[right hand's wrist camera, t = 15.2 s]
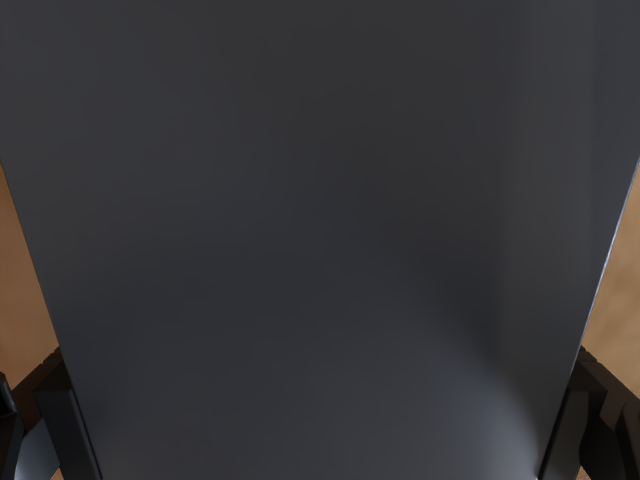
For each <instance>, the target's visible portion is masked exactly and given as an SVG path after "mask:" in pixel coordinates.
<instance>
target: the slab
mask: <svg viewBox="0 0 640 480" xmlns="http://www.w3.org/2000/svg"><path fill="white" fill-rule="evenodd" d="M0 162H1V165H2V168H3V171H4V174H5V177H6V181H7V184H8V187H9V190H10V193H11V196H12V199H13V202H14V206H15V209H16V212H17V215H18V218H19V221H20V224H21V228H22V231H23V234H24V237H25V240H26V243H27V246H28V249H29V253H30V256H31V259H32V262H33V265H34V268H35V271H36V274H37V278H38V281H39V284H40V287H41V290H42V293H43V296H44V299H45V303H46V306H47V309H48V312H49V315H50V318H51V321H52V325H53V328H54V331H55V334H56V337H57V340H58V343H59V346H60V350H61V353H62V356H63V359H64V362H65V365H66V368H67V371H68V375H69V378H70V381H71V384H72V387H73V390H74V393H75V396H76V400H77V403H78V406H79V409H80V412H81V415H82V418H83V422H84V425H85V428H86V431H87V434H88V437H89V440H90V443H91V447H92V450H93V453H94V456H95V459H96V462H97V465H98V468H99V472H100V475H101V478H102V480H537V479H538V476H539V473H540V470H541V467H542V464H543V460H544V457H545V454H546V451H547V448H548V445H549V442H550V439H551V436H552V433H553V429H554V426H555V423H556V420H557V417H558V414H559V411H560V408H561V405H562V402H563V398H564V395H565V392H566V389H567V386H568V383H569V380H570V377H571V374H572V370H573V367H574V364H575V361H576V358H577V355H578V352H579V349H580V346H581V343H582V339H583V336H584V333H585V330H586V327H587V324H588V321H589V318H590V315H591V311H592V308H593V305H594V302H595V299H596V296H597V293H598V290H599V287H600V284H601V280H602V277H603V274H604V271H605V268H606V265H607V262H608V259H609V256H610V253H611V249H612V246H613V243H614V240H615V237H616V234H617V231H618V228H619V225H620V221H621V218H622V215H623V212H624V209H625V206H626V203H627V200H628V197H629V194H630V190H631V187H632V184H633V181H634V178H635V175H636V172H637V169H638V166H639V162H640V0H0Z"/></svg>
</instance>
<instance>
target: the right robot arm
mask: <svg viewBox="0 0 640 480" xmlns="http://www.w3.org/2000/svg"><path fill="white" fill-rule="evenodd" d="M580 466H582V467H583V469H584V470H585V471H586V473H587V474H588V476H589V477H590V478H591V480H640V400H639V399H638V398H637V397H636V396H635V395H634V394H633V393H632V392H631V391H630V390H629V389H628V388H627V387H626V386H625V385H623V384H622V383H621V382H620V381H619V380H618V379H617V378H616V377H615V376H614V375H613V374H612V373H611V372H610V371H608V370H607V369H606V368H605V367H604V366H603V365H602V364H601V363H600V362H597V359H596V358H595V357H593V356H592V355H591V354H590V353H589V352H586V349H585V348H584V347H583V346H582V345H581V346H580V349H579V352H578V355H577V358H576V361H575V364H574V367H573V370H572V374H571V377H570V380H569V383H568V386H567V389H566V392H565V395H564V398H563V402H562V405H561V408H560V411H559V414H558V417H557V420H556V423H555V426H554V429H553V433H552V436H551V439H550V442H549V445H548V448H547V451H546V454H545V457H544V460H543V464H542V467H541V470H540V473H539V476H538V480H576V477H577V474H578V472H579V469H580ZM58 467H59V468H60V470H61V473H62V476H63V478H64V480H102V478H101V475H100V472H99V468H98V465H97V462H96V459H95V456H94V453H93V450H92V447H91V443H90V440H89V437H88V434H87V431H86V428H85V425H84V422H83V418H82V415H81V412H80V409H79V406H78V403H77V400H76V396H75V393H74V390H73V387H72V384H71V381H70V378H69V375H68V371H67V368H66V365H65V362H64V359H63V356H62V353H61V350H60V346H59V347H58V348H56V349H55V350H54V353H51V354H50V355H49V356H48V357H47V358H46V359H45V360H44V361H43V364H39V365H38V366H37V367H36V368H35V369H34V370H33V371H32V372H31V373H30V374H29V375H28V376H27V377H26V378H25V379H24V380H22V381H21V382H20V383H19V384H18V385H17V386H16V387H15V388H14V389H13V390H12V391H11V389H10V387H9V384H8V382H7V379H6V377H5V374H4V373H2V372H0V480H50V479H51V477H52V476H53V474H54V473H55V472H56V470H57V469H58Z"/></svg>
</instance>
